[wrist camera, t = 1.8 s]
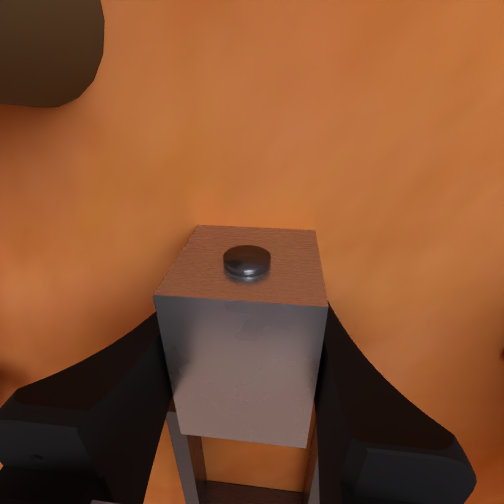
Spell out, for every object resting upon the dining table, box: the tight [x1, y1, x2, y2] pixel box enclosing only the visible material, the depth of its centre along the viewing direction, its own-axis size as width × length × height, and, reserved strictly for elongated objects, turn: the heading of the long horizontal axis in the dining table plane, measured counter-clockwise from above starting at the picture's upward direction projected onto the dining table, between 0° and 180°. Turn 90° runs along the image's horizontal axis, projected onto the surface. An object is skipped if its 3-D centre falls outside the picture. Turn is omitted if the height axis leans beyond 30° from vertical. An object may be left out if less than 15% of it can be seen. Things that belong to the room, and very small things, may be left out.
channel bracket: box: [166, 396, 320, 504], centre depth 20 cm, size 10×13×2 cm
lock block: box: [153, 225, 328, 448], centre depth 12 cm, size 5×7×5 cm
